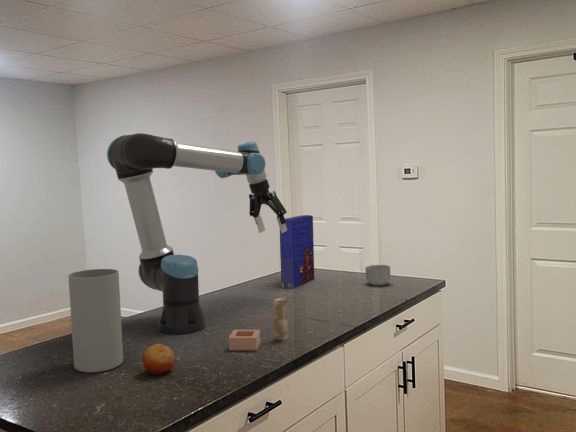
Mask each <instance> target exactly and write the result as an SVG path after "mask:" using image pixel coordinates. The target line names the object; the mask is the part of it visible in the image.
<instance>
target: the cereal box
mask: <svg viewBox="0 0 576 432" xmlns="http://www.w3.org/2000/svg"><path fill="white" fill-rule="evenodd" d="M285 222H286V223H285V224H286V227H287V231H285V232H284V233H281V230H280V229H279V249H280V250H279V251H280V252H279V257H280V258H279V259H280V286H281V287H280V288H281V289H291V290H292V289H293V290H294V289H296V288H298V287H301V286H302V285H305V284H307V283H309V282H311V281H314V280H315V257H314V256H315V253H314V251H315V248H314V247H315V246H314V216H313V215H310V214H301V215H297V216H291V217H287V218H285Z"/></svg>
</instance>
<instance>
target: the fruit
mask: <svg viewBox="0 0 576 432" xmlns="http://www.w3.org/2000/svg"><path fill="white" fill-rule="evenodd" d="M141 358H142V359H141V360H142V364H143V366H144V369H145V370H144V371H145V372H147V373H149V374H151V375H153V376H159V375H162V374H164V373H166V372H170V371H171V370H172V369H173V367H174V366H175V352H174V351H173V349H171V348H170V347H169V345H164V344H162V343H155V344H151V346H148V347H147V348H146V349H145V350H144V352H143V353H142V356H141Z"/></svg>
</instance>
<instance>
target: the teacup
mask: <svg viewBox="0 0 576 432" xmlns="http://www.w3.org/2000/svg"><path fill="white" fill-rule="evenodd" d="M364 269H365V278H366V281H367V283H369V284H370V285H371V286H373V287H383V286H386V285H387V284H388V283H389V282H390V281H391V266H390V265H387V264H371V265H368V266H365V268H364Z"/></svg>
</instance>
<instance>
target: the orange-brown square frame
mask: <svg viewBox="0 0 576 432" xmlns="http://www.w3.org/2000/svg"><path fill="white" fill-rule="evenodd" d="M260 344H261V329H233V330H232V332H231V333H230V335H229V336H228V351H257V350H258V348H259V346H260Z"/></svg>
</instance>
